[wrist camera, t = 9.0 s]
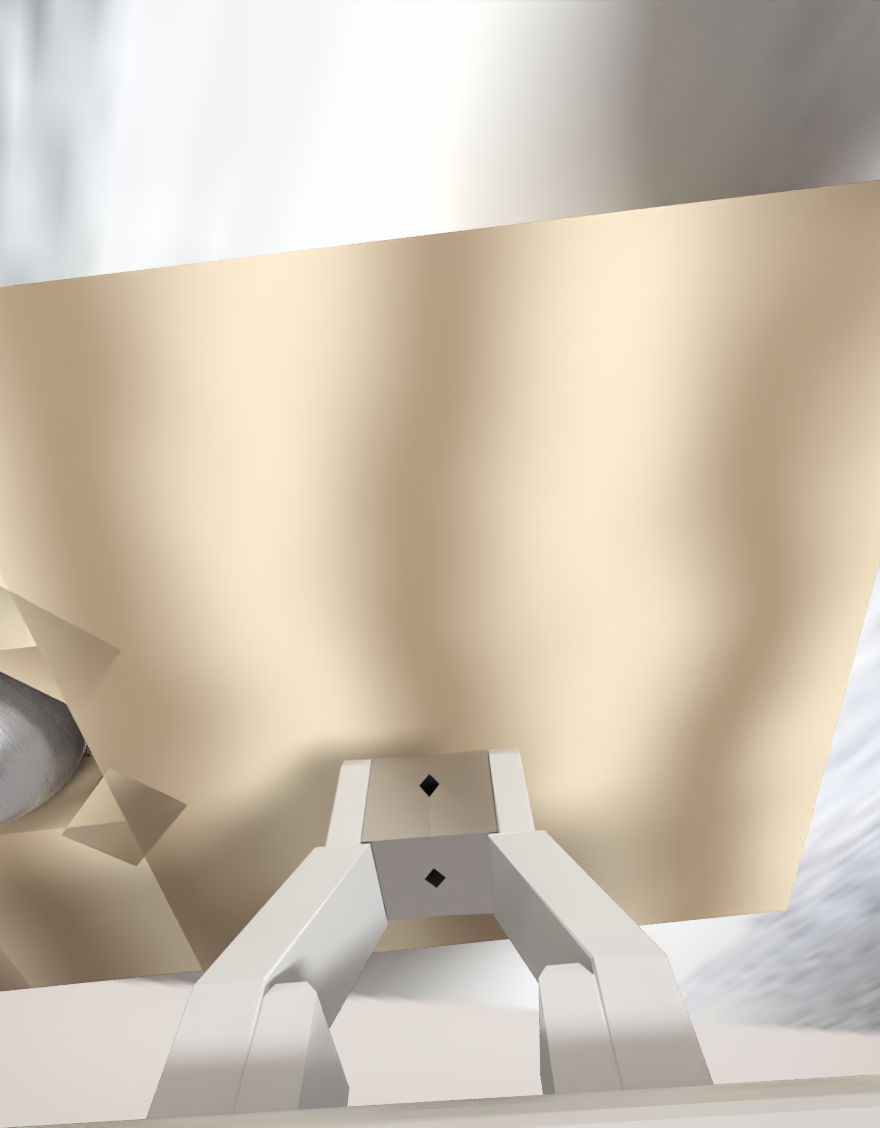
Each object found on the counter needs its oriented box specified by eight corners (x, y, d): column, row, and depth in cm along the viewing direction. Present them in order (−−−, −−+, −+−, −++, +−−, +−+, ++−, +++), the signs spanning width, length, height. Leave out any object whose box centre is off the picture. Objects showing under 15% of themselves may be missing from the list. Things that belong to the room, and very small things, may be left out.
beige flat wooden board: (860, 199, 10) (984, 167, 8) (740, 835, 18) (786, 910, 16) (-439, 357, 11) (-668, 369, 8) (-18, 915, 18) (-80, 999, 16)
